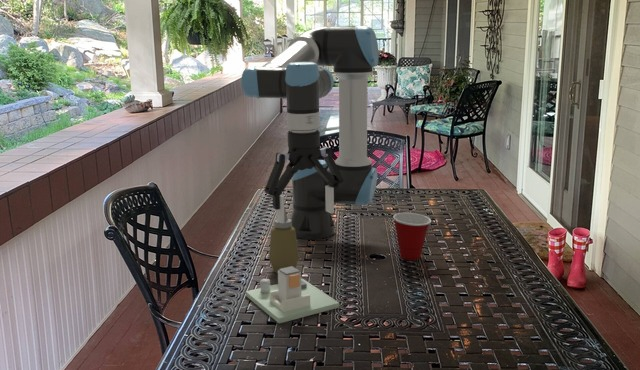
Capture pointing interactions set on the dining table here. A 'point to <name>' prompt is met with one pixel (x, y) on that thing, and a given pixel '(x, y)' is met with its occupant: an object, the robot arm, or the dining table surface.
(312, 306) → the board
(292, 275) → the plug
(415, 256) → the plastic cup
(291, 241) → the squeeze bottle
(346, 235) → the dining table surface
